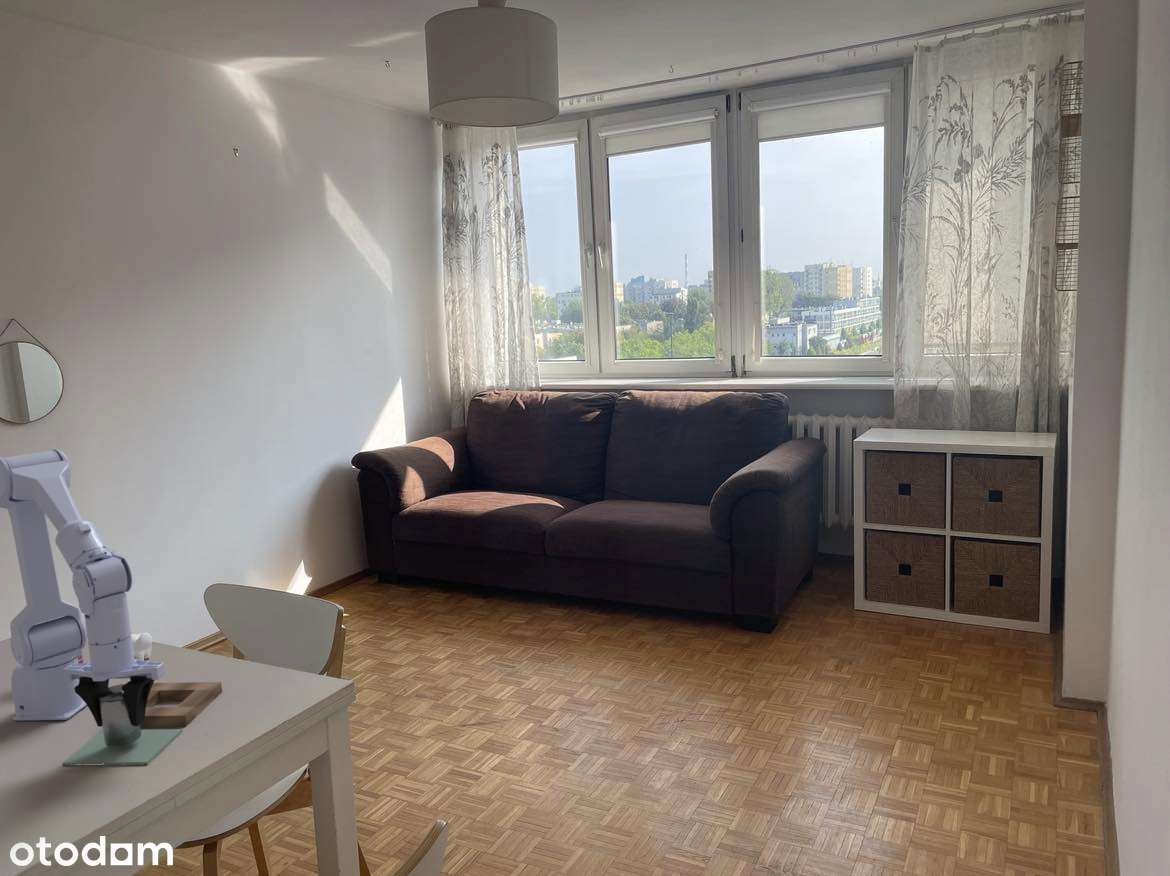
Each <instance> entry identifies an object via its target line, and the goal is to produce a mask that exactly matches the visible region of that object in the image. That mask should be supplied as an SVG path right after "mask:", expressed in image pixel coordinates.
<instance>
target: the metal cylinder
mask: <svg viewBox="0 0 1170 876" xmlns="http://www.w3.org/2000/svg"><path fill="white" fill-rule="evenodd" d="M125 684H126V683H122V684H116V685H112V686H108V688H106V689H104V690H102V691H101V692H100V693H99V694H98V698H99V705H100V712H101V719H102V730H103V734H104V741H105V744H106V745H107V746H112V747H115V746H122V745H126V744H129V743H132V742H134V741H136V740H137V739H139V738H140V737H141V735H142V733H141V730H142V727H141V725H140V724H139V725H138V726H133V725H132V721H131V716H130V708H129V704H128V701H127V698H126V696H125V694H124V692H123V690H122V686H123V685H125Z"/></svg>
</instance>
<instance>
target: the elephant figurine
mask: <svg viewBox="0 0 1170 876" xmlns="http://www.w3.org/2000/svg"><path fill="white" fill-rule="evenodd" d="M131 636H132V644H133V651H134V659H135V658H136V659H139V660H144V661H145V660H148V659H147V658H149V659H150V658H151V655H152V647H153V637H152V636H151V635H150V634H149V633H148V632H141V633H131Z"/></svg>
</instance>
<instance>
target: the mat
mask: <svg viewBox="0 0 1170 876" xmlns="http://www.w3.org/2000/svg"><path fill="white" fill-rule="evenodd" d="M141 733H142V735H141V737H140V738H139V739H137V740H136V741H134V742H132V743H129V744H126V745H122V746H115V747H112V746H107V745H106V744H105V741H104V734H103V729H102V730H101V731H99V732H98V733H97V734H95V736H93V737H92V738H91V739H90V740H88V741H87V742H85V744H84V745H82V746H81V747H80V748H79V749H78V750H76V751H75V752H74V753H72V754H71V755H70V756H69V757H68V758H67V759H65V760H64V761H63V762H61V765H62V766H75V765H74V764H103V763H104V764H148V765H149V764H150V763H151V762H152V761H153V760H154V759H155V758H156V757H158V755H160V754H161V752H163V751H164V750H165V749H166V748H167V747H168V746H169V745H170V744H171V743H172V742H173V741H174V740H175V739H176V738H178V736H179V735H180V734H182V733H183V728H178V729H176V728H175V729H173V728H170V729H169V728H166V729H164V728H163V729H157V728H156V729H154V728H153V729H141ZM71 764H72V765H71Z"/></svg>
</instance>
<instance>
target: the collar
mask: <svg viewBox="0 0 1170 876" xmlns="http://www.w3.org/2000/svg"><path fill="white" fill-rule="evenodd" d="M222 693H223V686H222V681H200V682H199V681H198V682H195V681H194V682H193V681H191V682H190V681H189V682H186V681H185V682H154V683H153V685H152V687H151V690H150V693H149V696H148V700H147V705H146V711H145V720H144V721H143V722H142V723H141V724H140V725H141V728H143V727H144V728H145V727H148V728H149V727H187V726H188V725H189V724H190V723H191V722H193V721H194V719H195V718H196V717H198V716H199V715H200V714H201V713H202V712H203V711H204V710H205V709H206V708H207V707H208V706H209V705H210V704H211V703H212V702H213V701H214V700H215V699H216V698H218V697H219V695H220V694H222ZM161 701H181V702H180V703H179V704H178V705H177V706H168V707H167V706H165V707H164V706H162V707H161V706H159V707H157V706H156V704H158V703H160V702H161ZM155 706H156V707H155Z"/></svg>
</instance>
